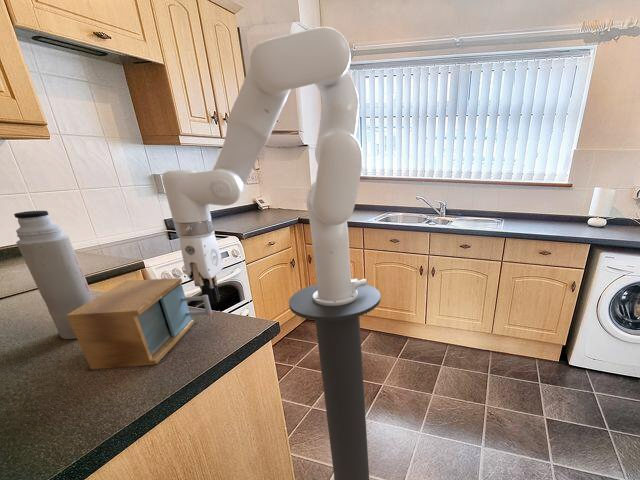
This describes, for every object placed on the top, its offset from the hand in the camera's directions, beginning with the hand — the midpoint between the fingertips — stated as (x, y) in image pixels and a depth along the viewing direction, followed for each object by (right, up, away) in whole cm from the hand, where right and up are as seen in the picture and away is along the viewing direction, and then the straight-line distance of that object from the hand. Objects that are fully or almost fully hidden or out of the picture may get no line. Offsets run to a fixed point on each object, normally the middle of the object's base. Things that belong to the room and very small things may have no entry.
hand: (212, 301), depth 84 cm
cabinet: (-9, -9, -9) cm, 16 cm away
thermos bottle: (-29, -7, -3) cm, 30 cm away
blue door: (-1, -6, -5) cm, 8 cm away
